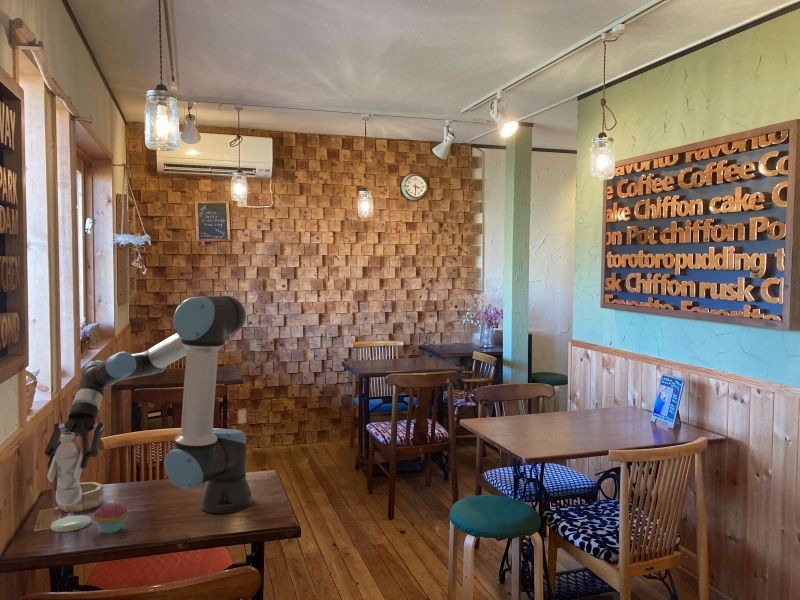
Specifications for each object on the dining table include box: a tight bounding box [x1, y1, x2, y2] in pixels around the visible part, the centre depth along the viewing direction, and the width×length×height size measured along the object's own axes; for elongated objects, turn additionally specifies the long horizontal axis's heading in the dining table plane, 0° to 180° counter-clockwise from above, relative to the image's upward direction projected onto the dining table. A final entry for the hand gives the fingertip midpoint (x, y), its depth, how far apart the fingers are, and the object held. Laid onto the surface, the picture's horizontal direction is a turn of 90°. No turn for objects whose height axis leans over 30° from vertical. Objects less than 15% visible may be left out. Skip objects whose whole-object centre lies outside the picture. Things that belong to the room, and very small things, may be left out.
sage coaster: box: [50, 514, 92, 533], centre depth 174 cm, size 10×10×1 cm
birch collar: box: [57, 481, 104, 513], centre depth 189 cm, size 11×11×5 cm
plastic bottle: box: [55, 432, 82, 506], centre depth 173 cm, size 6×7×20 cm
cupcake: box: [92, 485, 129, 534], centre depth 170 cm, size 9×8×12 cm
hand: (63, 478), depth 170 cm, fingers closed on plastic bottle, 6 cm apart
